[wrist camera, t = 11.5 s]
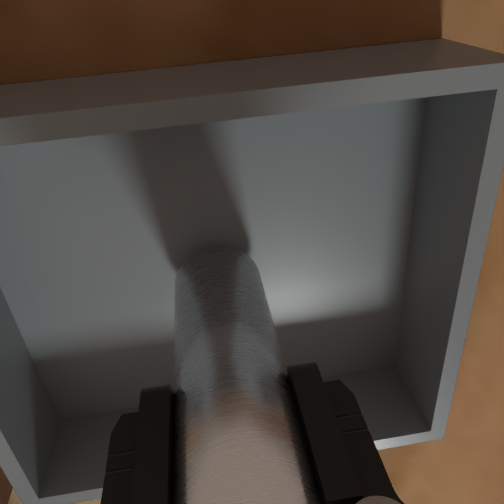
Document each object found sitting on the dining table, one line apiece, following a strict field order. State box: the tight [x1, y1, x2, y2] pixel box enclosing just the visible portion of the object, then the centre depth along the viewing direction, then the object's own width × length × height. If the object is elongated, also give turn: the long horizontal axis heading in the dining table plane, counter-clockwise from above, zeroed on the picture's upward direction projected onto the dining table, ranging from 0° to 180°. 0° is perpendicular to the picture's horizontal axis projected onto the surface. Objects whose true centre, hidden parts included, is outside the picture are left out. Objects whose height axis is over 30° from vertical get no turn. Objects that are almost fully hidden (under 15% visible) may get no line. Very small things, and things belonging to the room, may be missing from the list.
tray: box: [0, 38, 504, 504], centre depth 16 cm, size 16×14×4 cm
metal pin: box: [173, 246, 322, 504], centre depth 11 cm, size 4×4×13 cm
